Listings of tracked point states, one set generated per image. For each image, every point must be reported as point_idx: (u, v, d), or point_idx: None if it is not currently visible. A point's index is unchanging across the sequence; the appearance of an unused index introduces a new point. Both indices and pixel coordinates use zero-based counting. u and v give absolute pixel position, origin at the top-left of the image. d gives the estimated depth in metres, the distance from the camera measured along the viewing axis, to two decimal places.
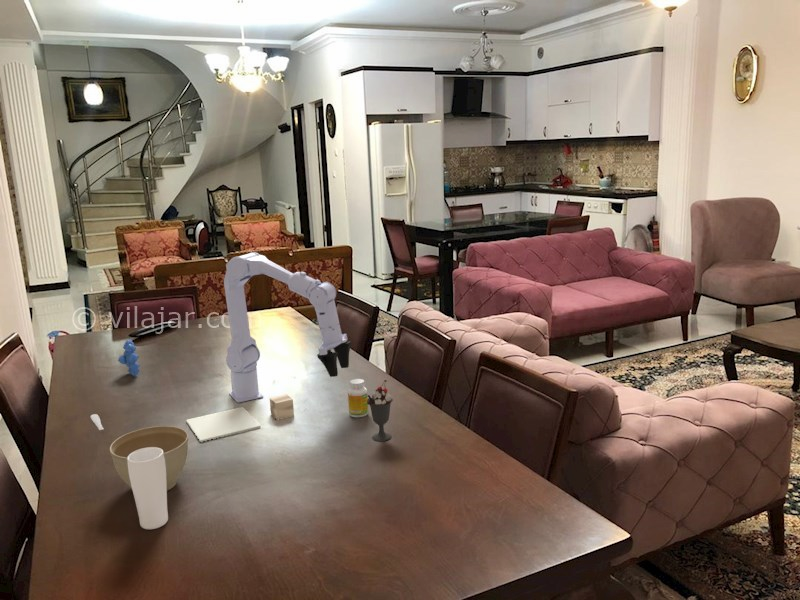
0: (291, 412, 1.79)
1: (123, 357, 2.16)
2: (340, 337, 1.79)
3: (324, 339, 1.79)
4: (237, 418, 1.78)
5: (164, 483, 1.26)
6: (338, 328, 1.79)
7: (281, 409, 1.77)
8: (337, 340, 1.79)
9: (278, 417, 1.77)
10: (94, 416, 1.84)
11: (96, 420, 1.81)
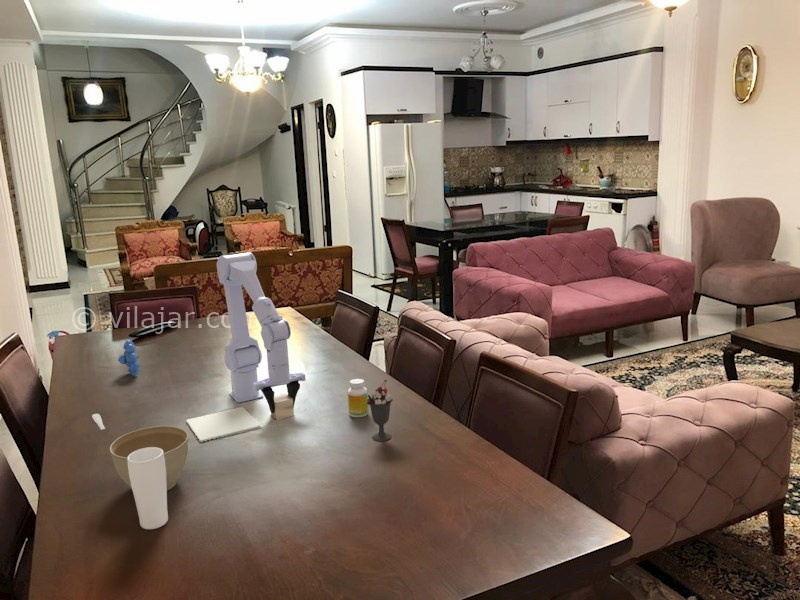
0: (291, 412, 1.79)
1: (123, 357, 2.16)
2: (281, 378, 1.75)
3: None
4: (237, 418, 1.78)
5: (164, 483, 1.26)
6: (280, 369, 1.75)
7: (281, 408, 1.77)
8: (276, 380, 1.75)
9: (278, 417, 1.77)
10: (96, 415, 1.84)
11: (98, 419, 1.81)
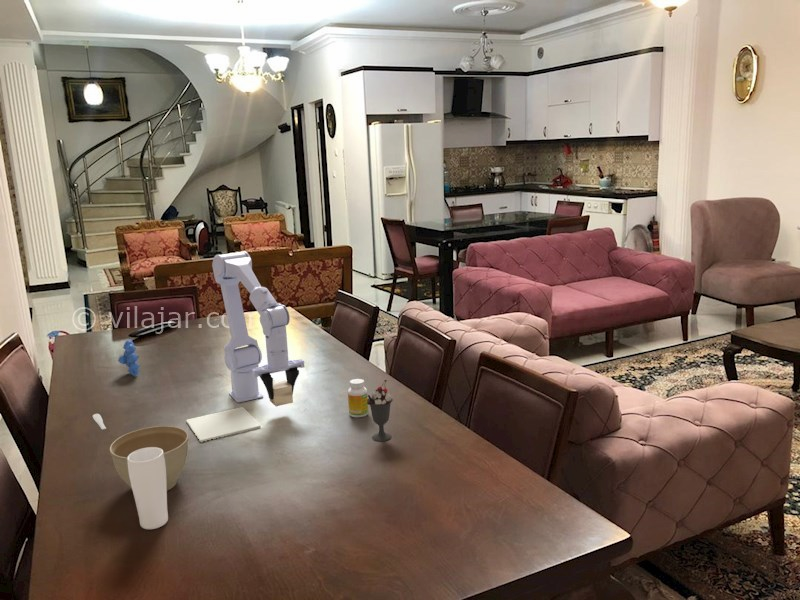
0: (290, 398, 1.78)
1: (123, 357, 2.16)
2: (280, 364, 1.74)
3: None
4: (237, 418, 1.78)
5: (164, 483, 1.26)
6: (279, 355, 1.74)
7: (280, 395, 1.76)
8: (275, 367, 1.74)
9: (277, 403, 1.76)
10: (96, 415, 1.84)
11: (98, 419, 1.81)
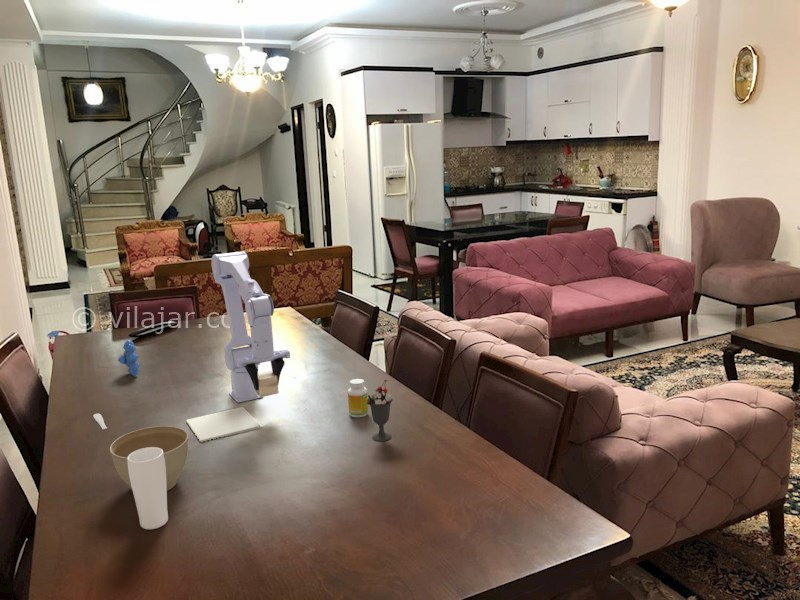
0: (275, 389, 1.76)
1: (123, 357, 2.16)
2: (265, 355, 1.72)
3: (252, 351, 1.74)
4: (237, 418, 1.78)
5: (164, 483, 1.26)
6: (264, 345, 1.72)
7: (265, 386, 1.74)
8: (260, 357, 1.72)
9: (262, 394, 1.74)
10: (97, 415, 1.84)
11: (99, 419, 1.81)
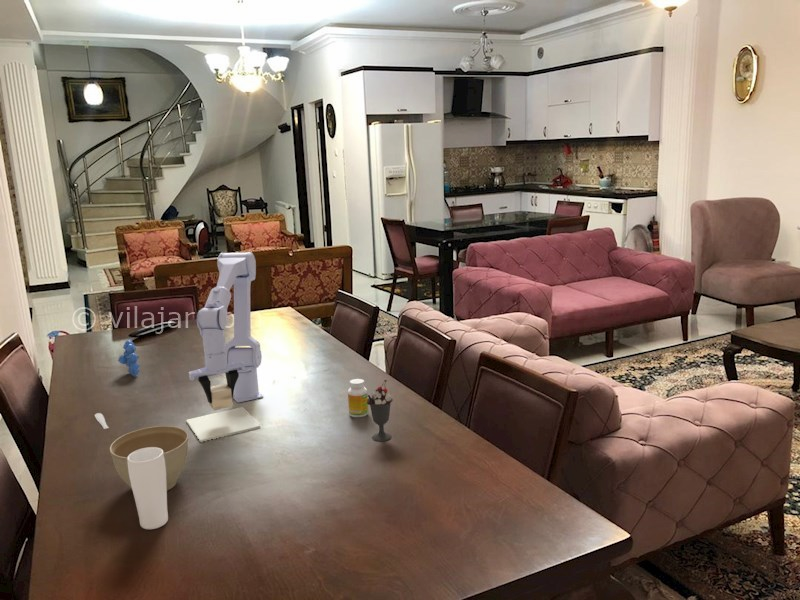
0: (229, 402, 1.72)
1: (123, 357, 2.16)
2: (218, 367, 1.69)
3: None
4: (237, 418, 1.78)
5: (164, 483, 1.26)
6: (217, 357, 1.68)
7: (218, 398, 1.71)
8: (213, 369, 1.69)
9: (215, 407, 1.71)
10: (99, 415, 1.84)
11: (101, 419, 1.81)
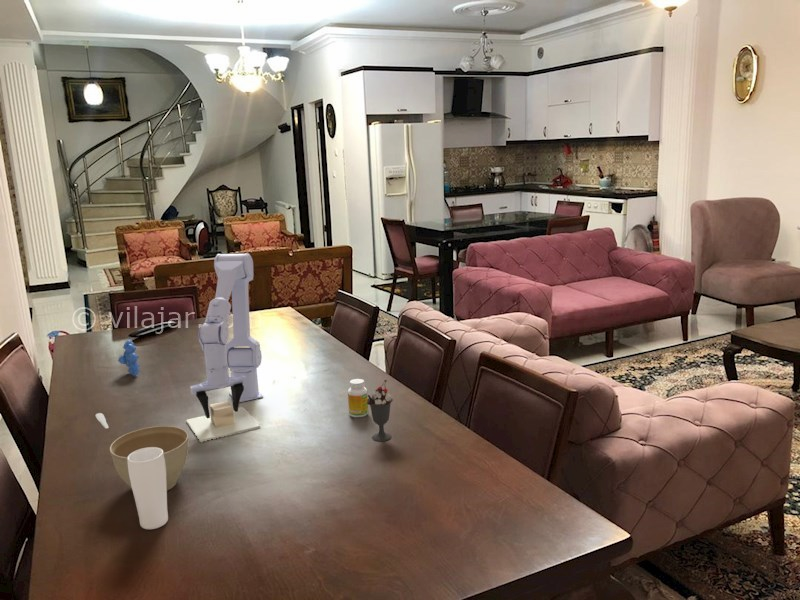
0: (231, 419, 1.73)
1: (123, 357, 2.16)
2: (219, 382, 1.70)
3: None
4: (237, 418, 1.78)
5: (164, 483, 1.26)
6: (218, 372, 1.69)
7: (220, 416, 1.72)
8: (214, 384, 1.70)
9: (217, 425, 1.72)
10: (99, 415, 1.84)
11: (102, 419, 1.82)
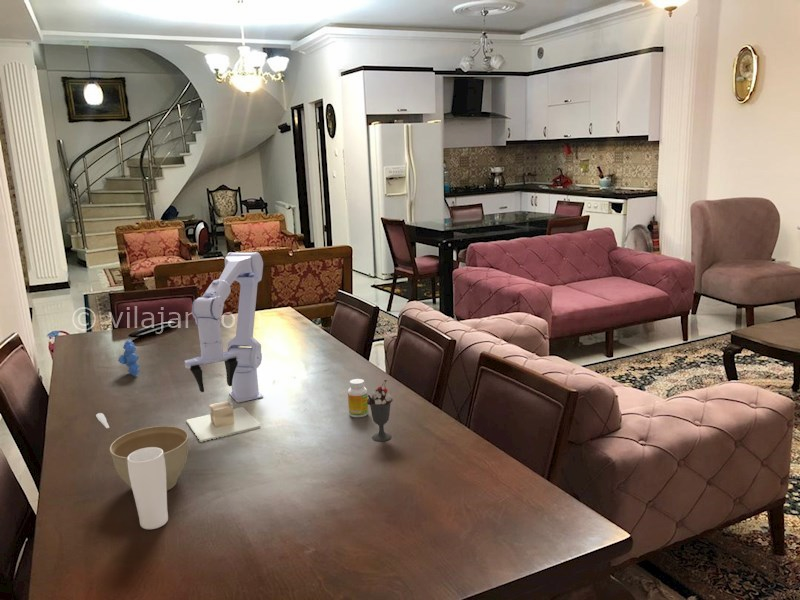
0: (231, 419, 1.73)
1: (123, 357, 2.16)
2: (213, 356, 1.72)
3: None
4: (237, 418, 1.78)
5: (164, 483, 1.26)
6: (212, 346, 1.71)
7: (220, 416, 1.72)
8: (208, 358, 1.72)
9: (217, 425, 1.72)
10: (100, 415, 1.85)
11: (102, 418, 1.82)
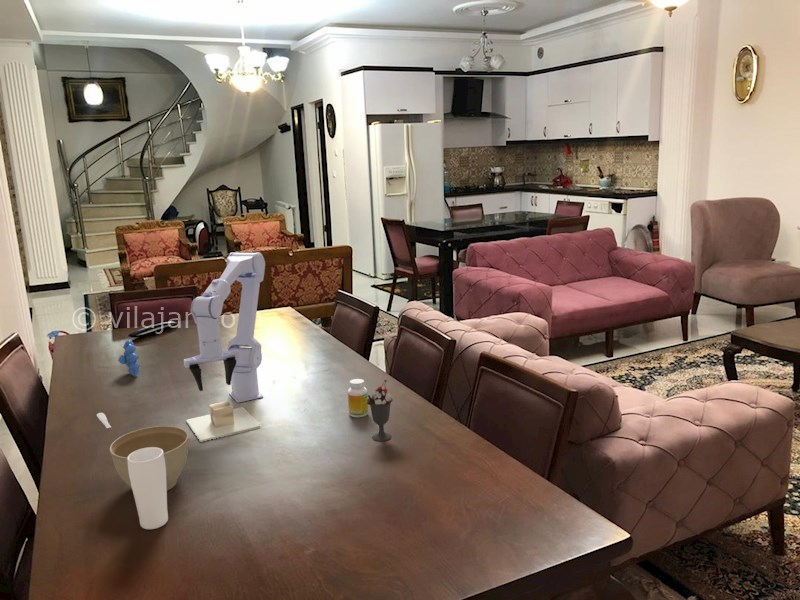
0: (231, 419, 1.73)
1: (123, 357, 2.16)
2: (212, 355, 1.72)
3: None
4: (237, 418, 1.78)
5: (164, 483, 1.26)
6: (211, 345, 1.72)
7: (220, 416, 1.72)
8: (207, 357, 1.72)
9: (217, 425, 1.72)
10: (101, 414, 1.85)
11: (103, 418, 1.82)
